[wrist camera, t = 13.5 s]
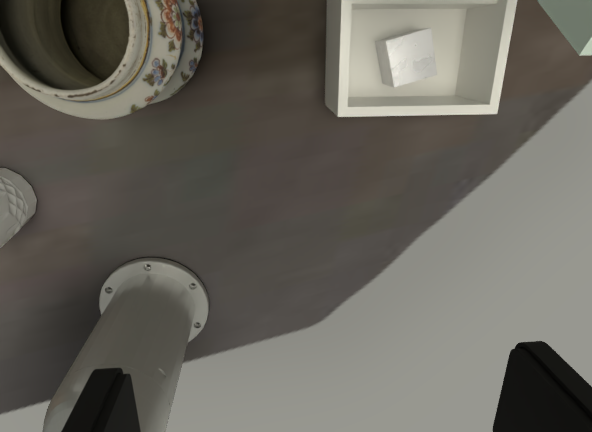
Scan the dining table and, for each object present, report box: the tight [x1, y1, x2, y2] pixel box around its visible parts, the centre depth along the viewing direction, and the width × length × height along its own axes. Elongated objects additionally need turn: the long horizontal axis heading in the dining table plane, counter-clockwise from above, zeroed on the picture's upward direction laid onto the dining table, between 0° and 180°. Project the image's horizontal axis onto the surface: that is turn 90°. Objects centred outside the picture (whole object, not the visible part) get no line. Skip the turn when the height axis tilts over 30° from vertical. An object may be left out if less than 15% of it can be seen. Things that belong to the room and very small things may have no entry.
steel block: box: [375, 28, 437, 87], centre depth 38 cm, size 4×4×4 cm
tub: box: [325, 0, 517, 117], centre depth 36 cm, size 18×14×8 cm
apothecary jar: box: [0, 0, 203, 119], centre depth 30 cm, size 12×12×18 cm
